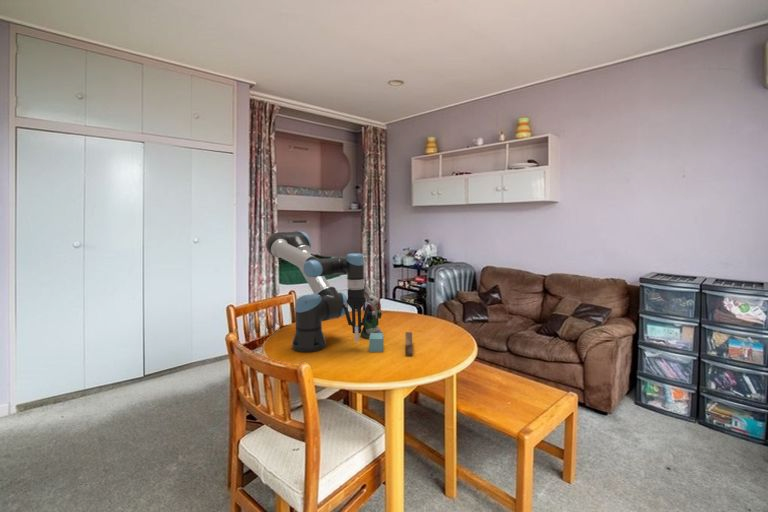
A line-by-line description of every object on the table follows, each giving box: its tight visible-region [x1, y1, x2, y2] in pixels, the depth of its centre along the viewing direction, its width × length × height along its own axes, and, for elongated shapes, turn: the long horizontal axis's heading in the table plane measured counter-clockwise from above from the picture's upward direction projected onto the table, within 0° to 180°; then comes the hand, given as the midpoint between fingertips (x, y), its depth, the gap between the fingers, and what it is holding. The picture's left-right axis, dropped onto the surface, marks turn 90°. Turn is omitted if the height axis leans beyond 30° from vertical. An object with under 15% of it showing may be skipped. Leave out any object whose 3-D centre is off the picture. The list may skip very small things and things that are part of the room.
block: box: [368, 332, 385, 353], centre depth 178 cm, size 6×9×6 cm, turn 178°
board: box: [404, 331, 413, 357], centre depth 177 cm, size 3×18×5 cm, turn 176°
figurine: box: [360, 285, 383, 340], centre depth 195 cm, size 11×13×25 cm
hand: (357, 340), depth 178 cm, fingers closed
